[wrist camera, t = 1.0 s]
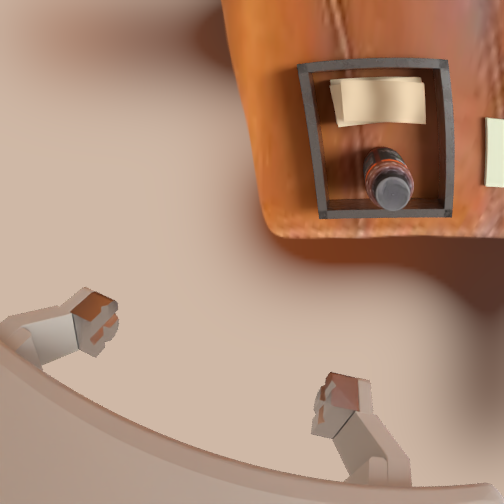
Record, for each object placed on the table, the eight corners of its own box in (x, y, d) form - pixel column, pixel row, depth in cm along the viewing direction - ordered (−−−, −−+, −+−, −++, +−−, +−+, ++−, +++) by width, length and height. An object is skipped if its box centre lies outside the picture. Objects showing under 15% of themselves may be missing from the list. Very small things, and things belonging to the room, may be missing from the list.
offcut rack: (439, 61, 30) (447, 59, 26) (445, 206, 40) (451, 217, 36) (301, 66, 36) (296, 64, 33) (322, 207, 46) (319, 218, 43)
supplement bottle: (363, 186, 42) (365, 219, 33) (361, 145, 40) (364, 167, 30) (403, 187, 41) (416, 220, 31) (403, 146, 38) (419, 168, 28)
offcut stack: (417, 77, 32) (427, 76, 27) (422, 121, 35) (432, 127, 30) (330, 79, 36) (327, 79, 32) (336, 123, 39) (334, 129, 34)
